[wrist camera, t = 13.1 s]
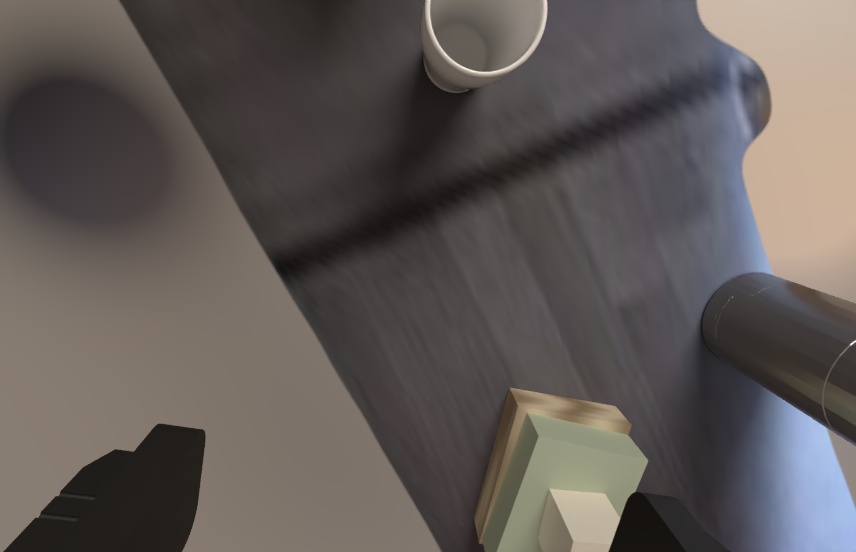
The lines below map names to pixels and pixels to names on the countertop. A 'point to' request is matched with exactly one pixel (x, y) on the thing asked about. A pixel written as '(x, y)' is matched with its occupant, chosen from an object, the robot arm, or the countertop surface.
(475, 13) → the tall white cup
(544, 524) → the cream block
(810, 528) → the countertop surface
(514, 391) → the brown wooden slab
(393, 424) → the countertop surface
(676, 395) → the countertop surface
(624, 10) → the countertop surface
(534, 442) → the sage slab
